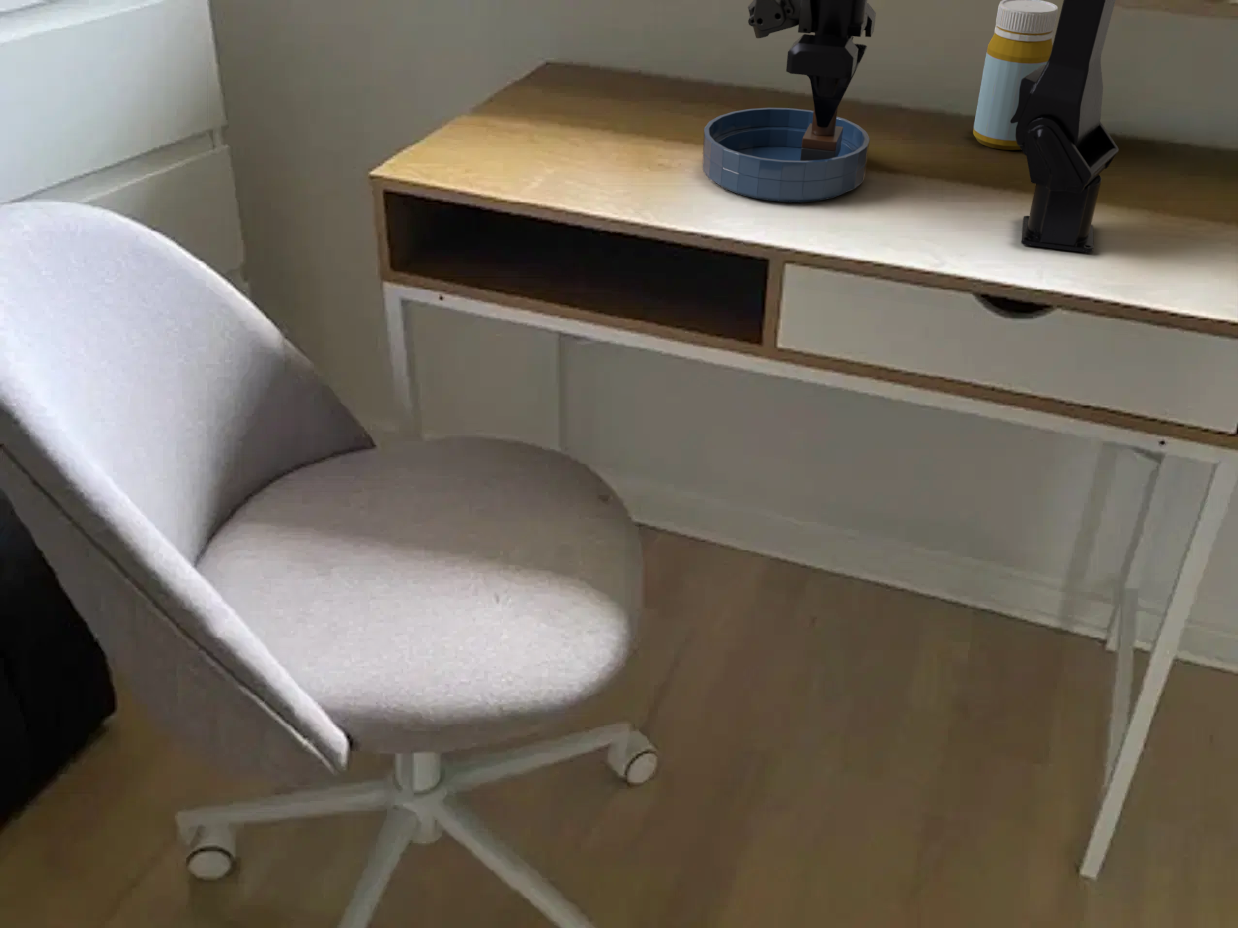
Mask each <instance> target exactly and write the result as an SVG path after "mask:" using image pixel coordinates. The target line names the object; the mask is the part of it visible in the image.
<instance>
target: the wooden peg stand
mask: <svg viewBox="0 0 1238 928" xmlns="http://www.w3.org/2000/svg"><path fill="white" fill-rule="evenodd" d="M812 111H813V121H812V124H811V123H810V125H809V127H808V129H807V131H806V133H805V135H804V136H803V138H802V148H801V158H800V161H810V160H824V159H830V158H835V157H838V155H839V152H840V150H841V143H842V134H843V127H839V126H836V118H837V117H838V108H837V110H836V112H835V114H834V116H833V118H832V120H831V122H830V124H829V126H828V127H827V128H824V127H818V126H817V122H816V115H815V108H814V107H813V110H812Z"/></svg>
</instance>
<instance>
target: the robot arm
mask: <svg viewBox="0 0 1238 928" xmlns="http://www.w3.org/2000/svg"><path fill="white" fill-rule="evenodd" d="M1115 4H1116V0H1062V6H1061V8H1060V14H1059V18H1058V21H1057V26H1056V31H1055V35H1054V37H1053V38H1054V39H1053V41H1052V45H1053V47H1052V51H1051V55H1050V57H1049V60H1048V62H1047V64H1046V65H1045V64H1043V65H1042V66H1040V67H1039V68H1037V69H1036V70H1034V71H1033V72H1031V73H1030V74H1028V75H1027V76H1025V77H1024V78H1022V80H1021V84H1020V89H1019V103H1018V107H1017V110H1016V113H1015V115H1014V116H1013V117H1012V119H1011V120H1010V122H1011V123H1012V124H1013V123H1016V122H1018V123H1017V127H1016V142H1017V145H1018V146H1020V148H1021V149H1020V150H1021V151H1022V153H1023V154H1024V156H1026V162H1027V166H1028V167H1027V168H1028V174H1029V179H1030V183H1031V184H1035V186H1034V191H1033V195H1032V201H1031V206H1030V210H1029V215H1024V216H1023V217H1022V225H1021V236H1020V237H1021V238H1020V244H1022V245H1024V246H1031V247H1039V248H1047V249H1055V250H1064V251H1071V252H1079V253H1088V254H1089V253H1093V252H1094V227H1093V224H1092V223H1093V220H1094V219H1093V218H1094V214H1095V209H1096V205H1097V201H1098V197H1099V194H1100V193H1099V192H1100V189H1101V184H1102V176H1101V173H1103V171H1104V170H1106V169H1108V168H1109V167H1110V166H1111V164H1112V162H1113V161H1114V159H1115V158H1116V156H1117V155H1118V153H1119V146H1118V145H1117V144H1116V143H1115V141H1114V139H1113V138H1112V137H1111V135H1110V133H1109V132H1108V130H1107V129H1106V128H1105V126H1104V124H1103V123H1102V121H1101V116H1102V105H1103V95H1104V94H1103V92H1104V82H1103V72H1102V63H1101V62H1102V54H1103V49H1104V46H1105V42H1106V38H1107V33H1108V31H1109V27H1110V23H1111V20H1112V16H1113V12H1114V9H1115ZM747 9H748V14H749V18H748V20H747V23H748V25H749V26H750V27H752V28H753V31H754V35H755V39H762V38H766V37H769V35H770V34H774V33H777V32H781V31H785V30H789V29H792V28H795V27H797V26H798V27H797V33H800V34H802V35H801V36H800V37H799V38H798V39H797V40H795V41H794V42H793V43H792V45H791V47H790V48H789V49H788V51H787V58H786V70H785V72H786V73H788V74H790V75H801V76H806V77H808V79H809V81H810V88H811V94H812V101H813V109H814V108H815V115H816V122H817V126H818V127H824V128H827V127H828V126H829V124H830V122H831V120H832V118H833V116H834V114H835V112H836V110H837V111H838V109H837V108H838V107H839V106H840V104H841V101H842V100H843V99H844V95H845V94H846V91H847V90H848V88H849V85H850V84H851V81H852V80H853V78H854V76H855V74H856V71H858V70H857V69H858V68H859V65H860V63H861V61H862V59H863V57H864V55H865V53H866V51H867V48H868V45H866V44H863V43H854V37H855V38H857V37H858V38H861V37H862V35H863V33H864V37H865V38H872V36H873V34H874V32H875V24H876V18H877V17H876V16H877V12H876V11H875V10H874V8H873V7H872V6H871V5H870V4H869V2H868V0H752V1H751V2H750V3H749V5H748V6H747ZM812 33H814V34H812Z"/></svg>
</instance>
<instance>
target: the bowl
mask: <svg viewBox="0 0 1238 928" xmlns="http://www.w3.org/2000/svg"><path fill="white" fill-rule="evenodd" d="M813 111H814V110H810V109H802V108H801V109H800V108H792V107H789V108H788V107H759V108H748V109H741V110H735V111H731V112H728V113H724V114H721V115H718V116H717V117H715V118H713V119H711V120H709V121H708V122H707V124H706V126H705V127H704V128H703V143H702V161H701V164H702V171H703V173H704V174H705V176H706V177H707V178H708V180H711V181H712V182H713V183H715V184H717V185H719V186H720V187H721V188H723V189H725V190H727V191H729V192H732V193H734V194H737V195H740V196H744V197H747V198H751V199H756V200H760V201H761V200H762V201H767V202H778V203H810V202H820V201H825V200H830V199H835V198H836V197H840V196H842V195H844V194H846V193H848V192H850V191H853V190H855V189H857V188H858V187H859V186H860V185H861V184H862V183H863V182H864V179H865V177H866V174H867V173H866V172H867V166H868V157H869V150H870V141H871V139H870V137H869V134H868V132H867V131H866V130H865V129H864V128H862V127H861V126H860V125H858V124H856V123H855V122H853V121H851V120H848V119H847V118H844V117H839V116H837V118H836V126H839V127H843V134H842V143H841V150H840V152H839V155H838V157H835V158H830V159H824V160H810V161H800V158H801V148H802V138H803V136H804V135H805V133H806V131H807V129H808V127H809V125H810V123H811V124H812V121H813Z"/></svg>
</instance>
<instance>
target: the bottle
mask: <svg viewBox="0 0 1238 928" xmlns="http://www.w3.org/2000/svg"><path fill="white" fill-rule="evenodd" d="M1058 8H1059V6H1058V5H1056V4H1054V3H1053V2H1050V1H1047V0H1000V1H999V4H998V8H997V13H996V19H995V27H994V33H993V36H992V37H991V39H990V41H989V43H988V44H987V47H986V54H985V59H984V63H983V69H982V77H981V83H980V87H979V93H978V98H977V99H978V100H977V104H976V105H977V106H976V112H975V118H974V122H973V130H972V134H973V136H974V138H975V139H976V141H977V143H979V144H981V145H983V146H985V147H988V148H992V149H996V150H1003V151H1018V150H1021V148H1020V146H1018V145H1017V142H1016V127H1017V123H1018V122H1016V123H1013V124H1012V123H1011V122H1010V120H1011V119H1012V117H1013V116H1014V115H1015V113H1016V110H1017V107H1018V103H1019V89H1020V84H1021V80H1022V78H1024V77H1025V76H1027V75H1028V74H1030V73H1031V72H1033V71H1034V70H1036V69H1037V68H1039V67H1040V66H1042V65H1043V64H1045V65H1046V64H1047V62H1048V60H1049V57H1050V55H1051V51H1052V47H1053V35H1054V29H1055V27H1056V22H1057V17H1058V12H1059V9H1058Z"/></svg>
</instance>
